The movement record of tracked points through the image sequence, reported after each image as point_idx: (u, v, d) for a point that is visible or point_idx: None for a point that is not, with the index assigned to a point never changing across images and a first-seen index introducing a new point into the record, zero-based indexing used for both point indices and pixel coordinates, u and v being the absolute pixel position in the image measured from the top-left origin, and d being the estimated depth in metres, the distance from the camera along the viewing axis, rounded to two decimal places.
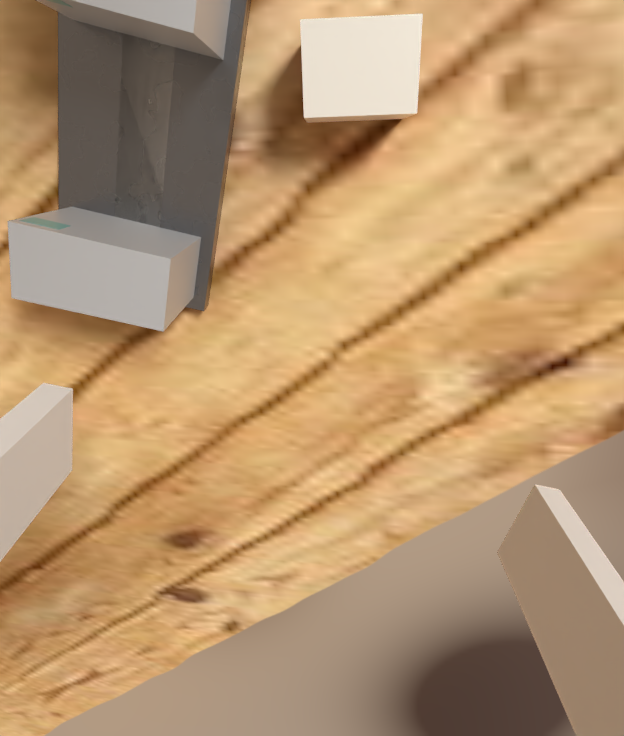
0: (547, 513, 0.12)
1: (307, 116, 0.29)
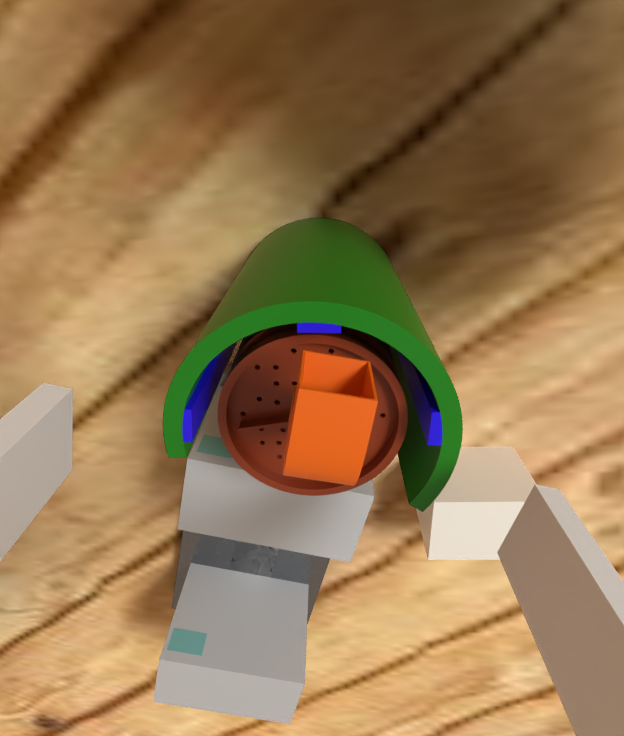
0: (547, 512, 0.12)
1: (431, 558, 0.31)
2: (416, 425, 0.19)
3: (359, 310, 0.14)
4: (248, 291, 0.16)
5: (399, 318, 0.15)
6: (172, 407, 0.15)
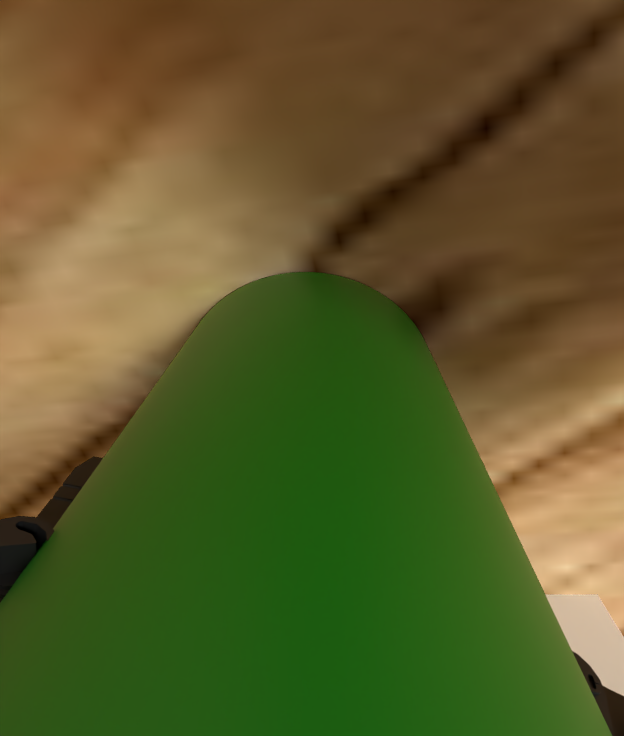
0: None
1: None
2: None
3: None
4: (42, 624, 0.05)
5: None
6: None
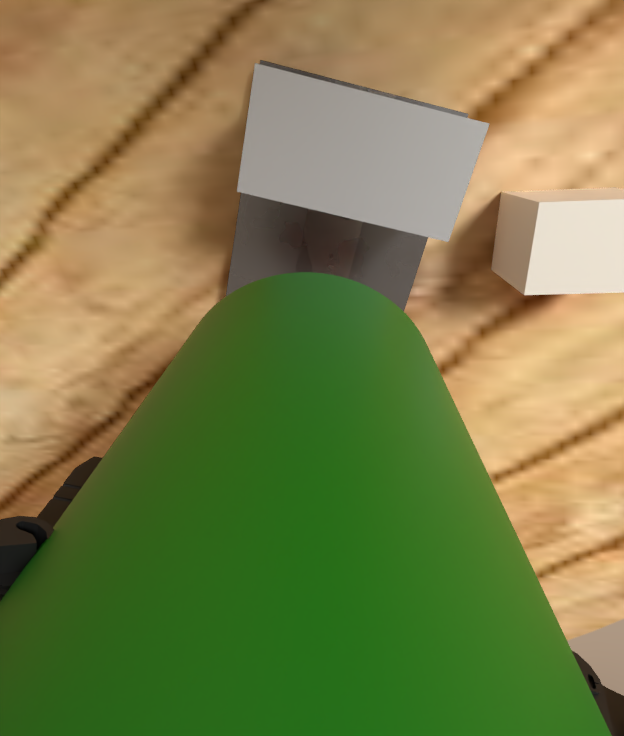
0: None
1: (528, 293, 0.26)
2: None
3: None
4: (38, 628, 0.05)
5: None
6: None
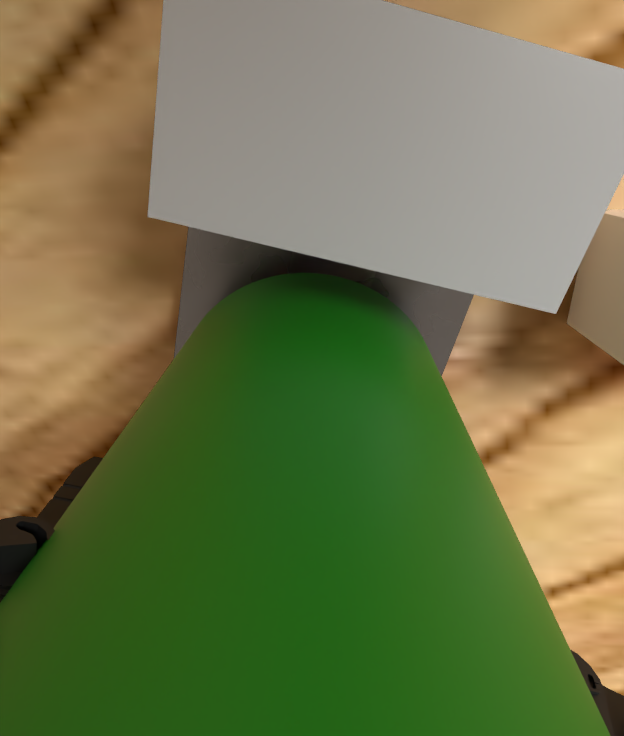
0: None
1: None
2: None
3: None
4: (38, 629, 0.05)
5: None
6: None
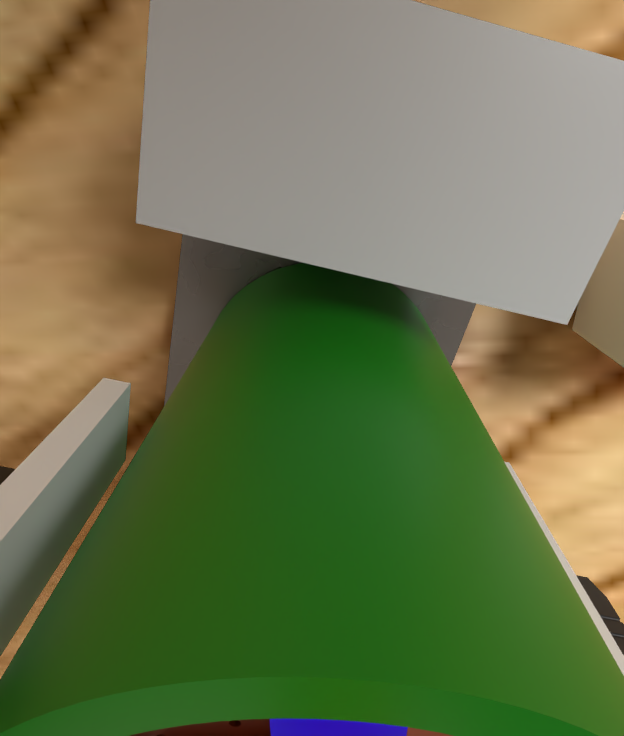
0: None
1: None
2: None
3: (471, 700, 0.04)
4: (162, 503, 0.07)
5: (562, 651, 0.05)
6: None
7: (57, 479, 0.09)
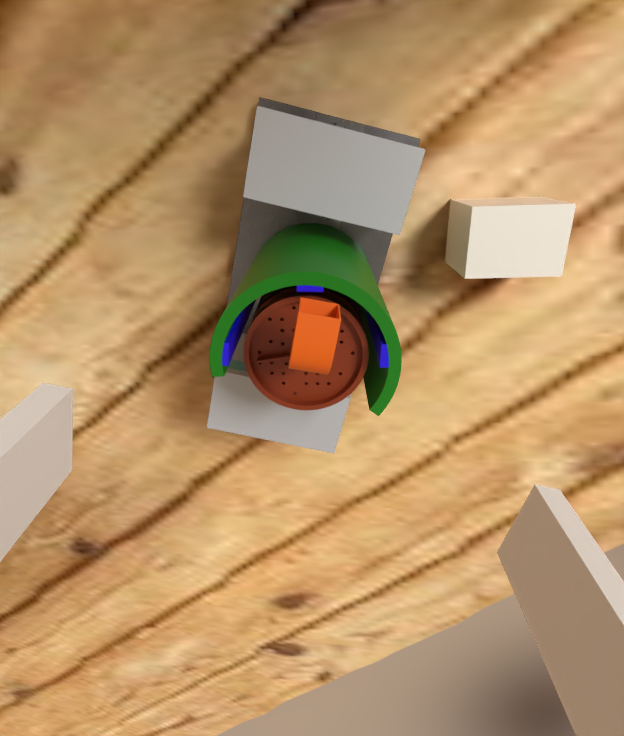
0: (546, 513, 0.12)
1: (468, 277, 0.34)
2: (377, 363, 0.28)
3: (334, 277, 0.22)
4: (264, 269, 0.25)
5: (360, 284, 0.23)
6: (216, 341, 0.24)
7: None
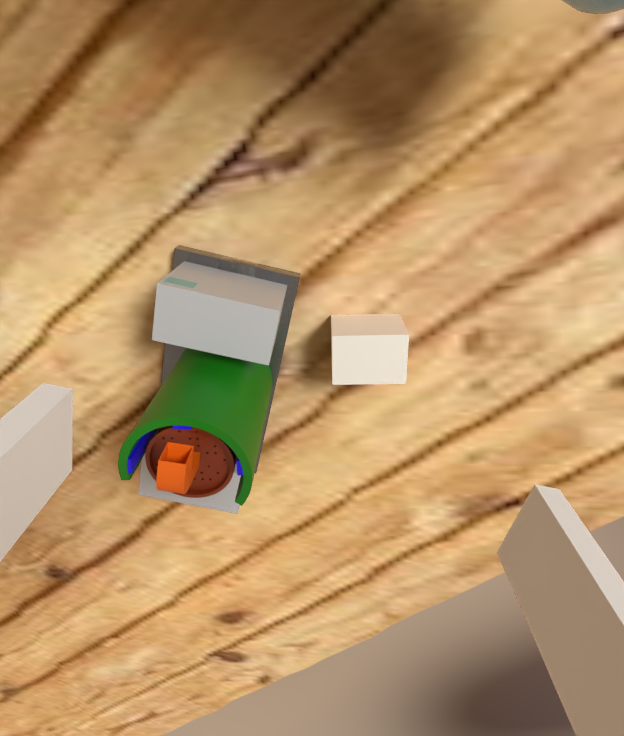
0: (547, 512, 0.12)
1: (334, 384, 0.44)
2: None
3: (197, 421, 0.33)
4: (158, 404, 0.36)
5: (219, 421, 0.34)
6: (122, 458, 0.35)
7: None
